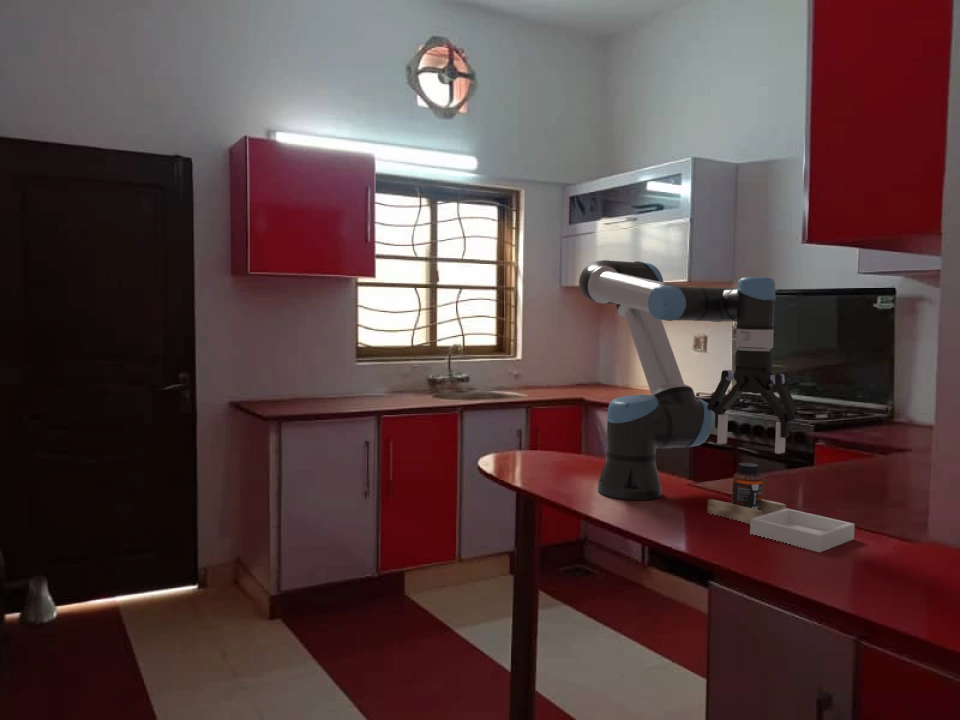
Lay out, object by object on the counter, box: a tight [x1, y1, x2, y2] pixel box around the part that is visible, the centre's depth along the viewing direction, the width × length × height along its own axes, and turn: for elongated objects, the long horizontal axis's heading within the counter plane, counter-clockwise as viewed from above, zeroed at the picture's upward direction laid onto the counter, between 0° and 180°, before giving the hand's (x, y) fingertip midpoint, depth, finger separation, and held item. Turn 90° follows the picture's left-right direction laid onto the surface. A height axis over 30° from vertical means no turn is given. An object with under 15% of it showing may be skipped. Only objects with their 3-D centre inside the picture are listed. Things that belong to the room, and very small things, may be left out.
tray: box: [749, 507, 855, 553], centre depth 146 cm, size 14×14×3 cm
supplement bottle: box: [731, 462, 763, 510], centre depth 161 cm, size 6×6×11 cm
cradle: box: [707, 493, 787, 525], centre depth 161 cm, size 12×11×3 cm
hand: (750, 448), depth 160 cm, fingers open, 13 cm apart
